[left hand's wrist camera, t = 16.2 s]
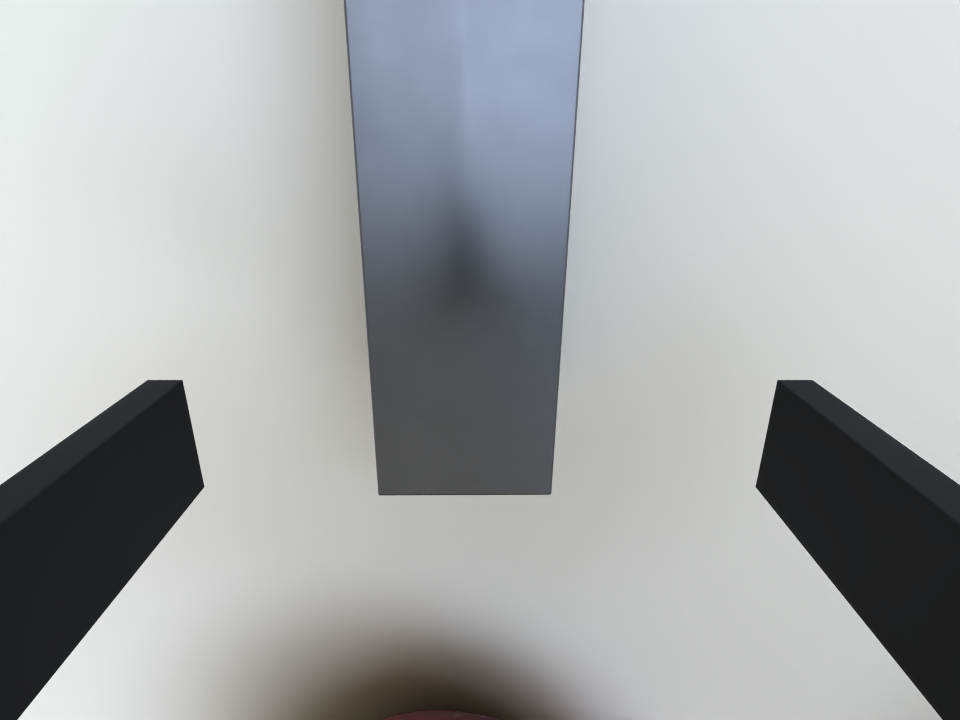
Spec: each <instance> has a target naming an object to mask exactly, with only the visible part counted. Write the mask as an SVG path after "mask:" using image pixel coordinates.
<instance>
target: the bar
mask: <svg viewBox="0 0 960 720" xmlns="http://www.w3.org/2000/svg"><path fill="white" fill-rule="evenodd" d="M344 10H345V24H346V39H347V53H348V67H349V81H350V96H351V110H352V124H353V139H354V153H355V167H356V181H357V196H358V210H359V224H360V238H361V253H362V267H363V281H364V295H365V310H366V324H367V338H368V353H369V367H370V381H371V395H372V410H373V424H374V438H375V452H376V467H377V481H378V494H379V495H550V494H551V489H552V474H553V459H554V444H555V430H556V415H557V400H558V385H559V370H560V356H561V341H562V326H563V311H564V296H565V282H566V267H567V252H568V237H569V222H570V208H571V193H572V178H573V163H574V148H575V134H576V119H577V104H578V89H579V74H580V60H581V45H582V30H583V15H584V0H344Z"/></svg>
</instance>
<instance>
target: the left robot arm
mask: <svg viewBox="0 0 960 720" xmlns="http://www.w3.org/2000/svg"><path fill="white" fill-rule="evenodd" d="M203 488H204V483H203V478H202V473H201V469H200V464H199V459H198V454H197V449H196V444H195V439H194V434H193V429H192V425H191V420H190V415H189V410H188V405H187V400H186V395H185V390H184V386H183V381H182V380H147V381H146V382H144V383H143V384H142V385H140V386H139V387H137V388H136V389H135V390H133V391H132V392H130V393H129V394H128V395H126V396H125V397H123V398H122V399H121V400H119V401H118V402H116V403H115V404H114V405H112V406H111V407H109V408H108V409H107V410H105V411H104V412H102V413H101V414H100V415H98V416H97V417H95V418H94V419H93V420H91V421H90V422H88V423H87V424H85V425H84V426H83V427H81V428H80V429H78V430H77V431H76V432H74V433H73V434H71V435H70V436H69V437H67V438H66V439H64V440H63V441H62V442H60V443H59V444H57V445H56V446H55V447H53V448H52V449H50V450H49V451H48V452H46V453H45V454H43V455H42V456H41V457H39V458H38V459H36V460H35V461H34V462H32V463H31V464H29V465H28V466H26V467H25V468H24V469H22V470H21V471H19V472H18V473H17V474H15V475H14V476H12V477H11V478H10V479H8V480H7V481H5V482H4V483H3V484H1V485H0V720H17V719H18V718H19V717H20V716H21V714H22V713H23V712H24V711H25V709H26V708H27V707H28V706H29V704H30V703H31V702H32V701H33V699H34V698H35V697H36V696H37V695H38V693H39V692H40V691H41V690H42V688H43V687H44V686H45V685H46V683H47V682H48V681H49V680H50V678H51V677H52V676H53V675H54V673H55V672H56V671H57V670H58V668H59V667H60V666H61V665H62V663H63V662H64V661H65V660H66V658H67V657H68V656H69V655H70V653H71V652H72V651H73V650H74V648H75V647H76V646H77V645H78V643H79V642H80V641H81V640H82V638H83V637H84V636H85V635H86V634H87V632H88V631H89V630H90V629H91V627H92V626H93V625H94V624H95V622H96V621H97V620H98V619H99V617H100V616H101V615H102V614H103V612H104V611H105V610H106V609H107V607H108V606H109V605H110V604H111V602H112V601H113V600H114V599H115V597H116V596H117V595H118V594H119V592H120V591H121V590H122V589H123V587H124V586H125V585H126V584H127V582H128V581H129V580H130V579H131V578H132V576H133V575H134V574H135V573H136V571H137V570H138V569H139V568H140V566H141V565H142V564H143V563H144V561H145V560H146V559H147V558H148V556H149V555H150V554H151V553H152V551H153V550H154V549H155V548H156V546H157V545H158V544H159V543H160V541H161V540H162V539H163V538H164V536H165V535H166V534H167V533H168V531H169V530H170V529H171V528H172V526H173V525H174V524H175V523H176V521H177V520H178V519H179V518H180V517H181V515H182V514H183V513H184V512H185V510H186V509H187V508H188V507H189V505H190V504H191V503H192V502H193V500H194V499H195V498H196V497H197V495H198V494H199V493H200V492H201V490H202V489H203ZM756 488H757V489H758V490H759V492H760V493H761V494H762V495H763V497H764V498H765V499H766V500H767V502H768V503H769V504H770V505H771V507H772V508H773V509H774V510H775V512H776V513H777V514H778V515H779V517H780V518H781V519H782V520H783V521H784V523H785V524H786V525H787V526H788V528H789V529H790V530H791V531H792V533H793V534H794V535H795V536H796V538H797V539H798V540H799V541H800V543H801V544H802V545H803V546H804V548H805V549H806V550H807V551H808V553H809V554H810V555H811V556H812V558H813V559H814V560H815V561H816V563H817V564H818V565H819V566H820V568H821V569H822V570H823V571H824V573H825V574H826V575H827V576H828V578H829V579H830V580H831V581H832V582H833V584H834V585H835V586H836V587H837V589H838V590H839V591H840V592H841V594H842V595H843V596H844V597H845V599H846V600H847V601H848V602H849V604H850V605H851V606H852V607H853V609H854V610H855V611H856V612H857V614H858V615H859V616H860V617H861V619H862V620H863V621H864V622H865V624H866V625H867V626H868V627H869V629H870V630H871V631H872V632H873V634H874V635H875V636H876V637H877V638H878V640H879V641H880V642H881V643H882V645H883V646H884V647H885V648H886V650H887V651H888V652H889V653H890V655H891V656H892V657H893V658H894V660H895V661H896V662H897V663H898V665H899V666H900V667H901V668H902V670H903V671H904V672H905V673H906V675H907V676H908V677H909V678H910V680H911V681H912V682H913V683H914V685H915V686H916V687H917V688H918V690H919V691H920V692H921V693H922V695H923V696H924V697H925V698H926V699H927V701H928V702H929V703H930V704H931V706H932V707H933V708H934V709H935V711H936V712H937V713H938V714H939V716H940V717H941V718H942V719H943V720H960V485H959V484H957V483H956V482H955V481H953V480H952V479H950V478H949V477H948V476H946V475H945V474H943V473H942V472H941V471H939V470H938V469H936V468H935V467H934V466H932V465H931V464H929V463H928V462H926V461H925V460H924V459H922V458H921V457H919V456H918V455H917V454H915V453H914V452H912V451H911V450H910V449H908V448H907V447H905V446H904V445H903V444H901V443H900V442H898V441H897V440H896V439H894V438H893V437H891V436H890V435H889V434H887V433H886V432H884V431H883V430H882V429H880V428H879V427H877V426H876V425H875V424H873V423H872V422H870V421H869V420H867V419H866V418H865V417H863V416H862V415H860V414H859V413H858V412H856V411H855V410H853V409H852V408H851V407H849V406H848V405H846V404H845V403H844V402H842V401H841V400H839V399H838V398H837V397H835V396H834V395H832V394H831V393H830V392H828V391H827V390H825V389H824V388H823V387H821V386H820V385H818V384H817V383H816V382H814V381H813V380H778V381H777V386H776V390H775V395H774V400H773V405H772V410H771V415H770V420H769V425H768V429H767V434H766V439H765V444H764V449H763V454H762V459H761V464H760V469H759V473H758V478H757V483H756Z"/></svg>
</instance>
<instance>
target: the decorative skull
mask: <svg viewBox="0 0 960 720" xmlns="http://www.w3.org/2000/svg"><path fill="white" fill-rule="evenodd" d="M380 720H500V719H498V718H494V717H489V716H484V715H480V714H474V713H469V712H462V711H450V710H426V711H415V712H409V713H403V714H398V715H394V716H391V717H387V718H383V719H380Z"/></svg>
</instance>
